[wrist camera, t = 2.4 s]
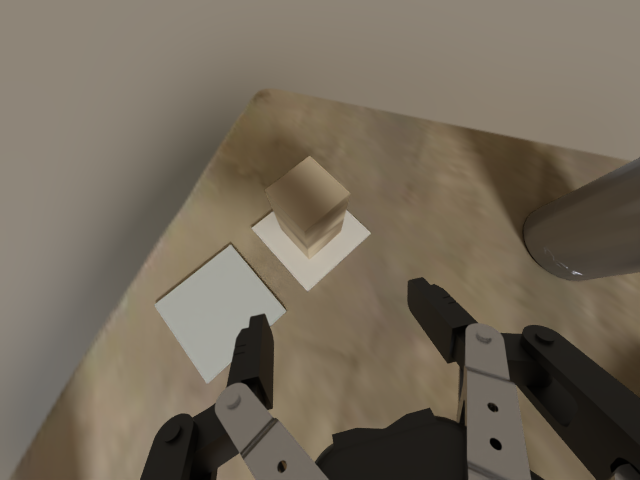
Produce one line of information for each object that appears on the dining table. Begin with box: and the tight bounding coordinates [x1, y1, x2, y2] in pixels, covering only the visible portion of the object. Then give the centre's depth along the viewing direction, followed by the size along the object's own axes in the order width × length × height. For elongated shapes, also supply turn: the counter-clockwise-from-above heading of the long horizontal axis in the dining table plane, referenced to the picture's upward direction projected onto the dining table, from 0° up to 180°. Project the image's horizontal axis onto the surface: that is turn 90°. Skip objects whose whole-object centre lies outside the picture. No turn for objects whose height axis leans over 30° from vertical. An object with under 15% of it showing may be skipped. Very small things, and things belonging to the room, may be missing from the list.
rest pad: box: [154, 245, 286, 383], centre depth 26 cm, size 10×10×1 cm
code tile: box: [252, 210, 371, 292], centre depth 28 cm, size 10×10×1 cm
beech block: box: [265, 156, 350, 260], centre depth 24 cm, size 5×5×9 cm
